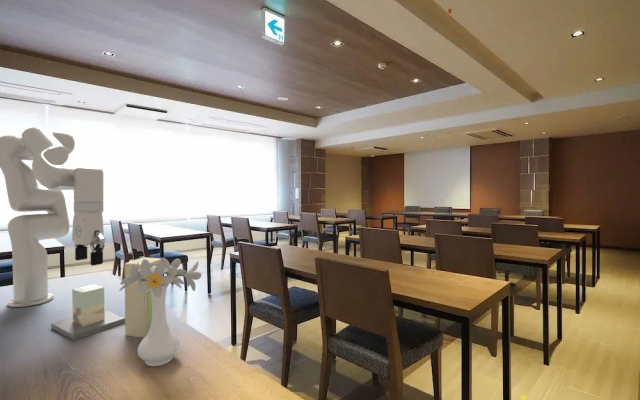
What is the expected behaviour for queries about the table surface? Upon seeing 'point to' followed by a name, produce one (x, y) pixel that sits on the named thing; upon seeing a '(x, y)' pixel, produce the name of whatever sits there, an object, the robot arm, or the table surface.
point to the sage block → (88, 296)
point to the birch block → (88, 315)
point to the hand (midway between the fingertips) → (88, 262)
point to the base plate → (78, 331)
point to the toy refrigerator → (138, 303)
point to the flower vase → (159, 306)
